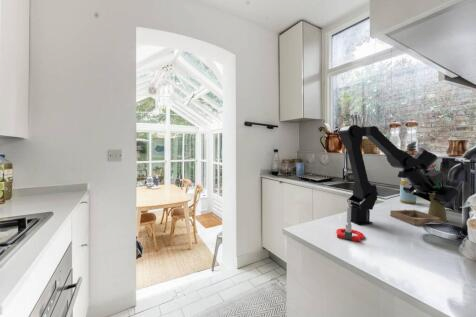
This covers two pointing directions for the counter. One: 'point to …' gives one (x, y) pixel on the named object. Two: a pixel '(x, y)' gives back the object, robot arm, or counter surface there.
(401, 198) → the bottle
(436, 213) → the cork
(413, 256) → the counter surface
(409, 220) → the tray
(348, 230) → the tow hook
